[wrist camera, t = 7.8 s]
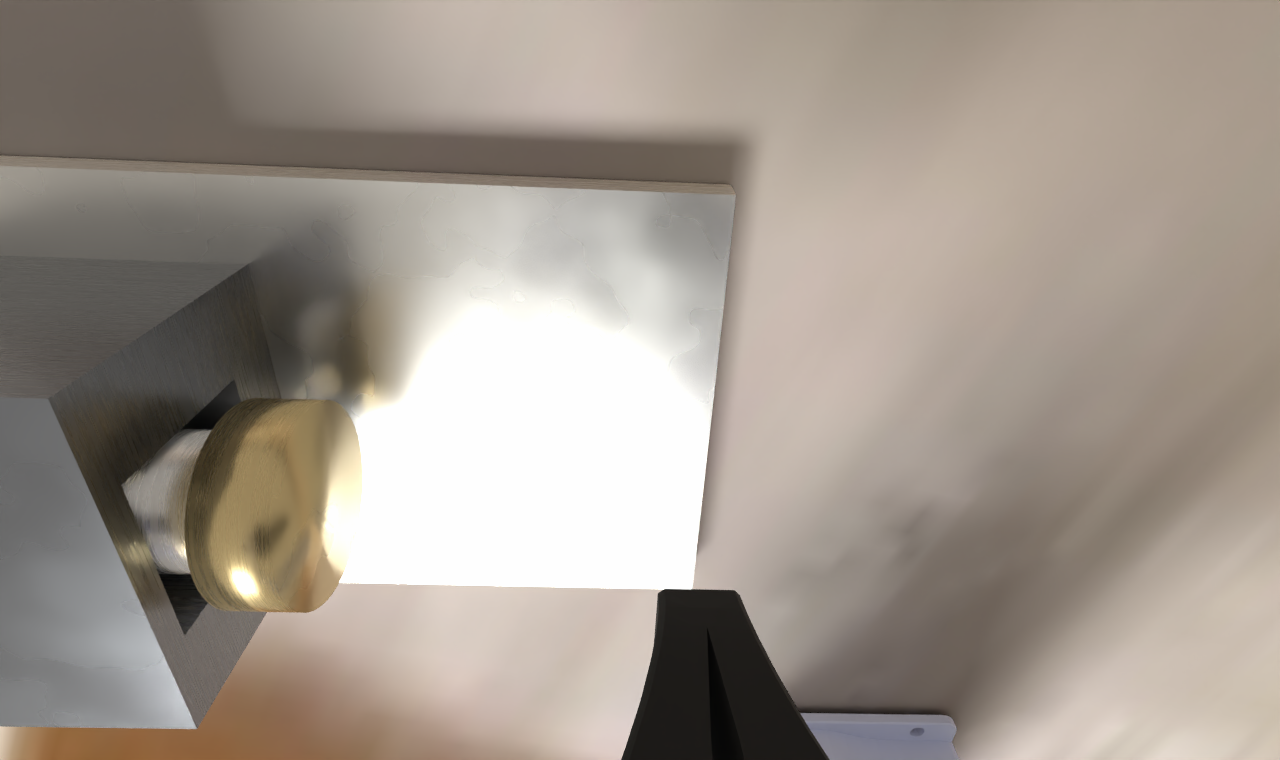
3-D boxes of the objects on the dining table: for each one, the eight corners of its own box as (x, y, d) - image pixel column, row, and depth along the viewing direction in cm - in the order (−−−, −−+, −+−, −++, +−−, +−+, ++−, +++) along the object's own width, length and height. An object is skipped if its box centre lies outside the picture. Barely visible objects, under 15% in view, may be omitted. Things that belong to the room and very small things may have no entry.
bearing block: (730, 184, 16) (795, 299, 9) (689, 565, 21) (714, 789, 15) (-258, 144, 15) (-880, 241, 9) (-21, 550, 21) (-294, 778, 15)
